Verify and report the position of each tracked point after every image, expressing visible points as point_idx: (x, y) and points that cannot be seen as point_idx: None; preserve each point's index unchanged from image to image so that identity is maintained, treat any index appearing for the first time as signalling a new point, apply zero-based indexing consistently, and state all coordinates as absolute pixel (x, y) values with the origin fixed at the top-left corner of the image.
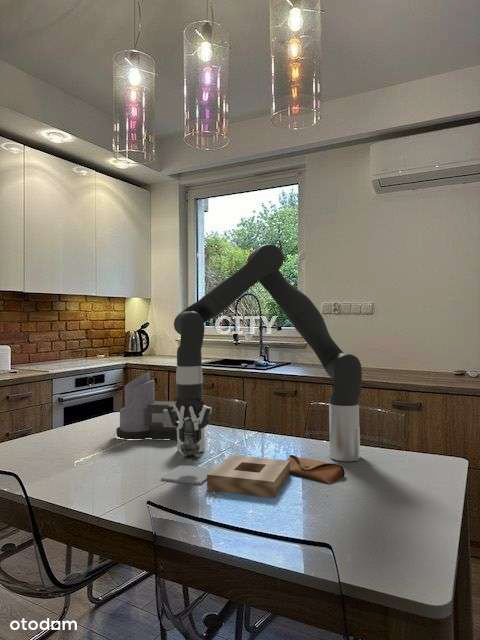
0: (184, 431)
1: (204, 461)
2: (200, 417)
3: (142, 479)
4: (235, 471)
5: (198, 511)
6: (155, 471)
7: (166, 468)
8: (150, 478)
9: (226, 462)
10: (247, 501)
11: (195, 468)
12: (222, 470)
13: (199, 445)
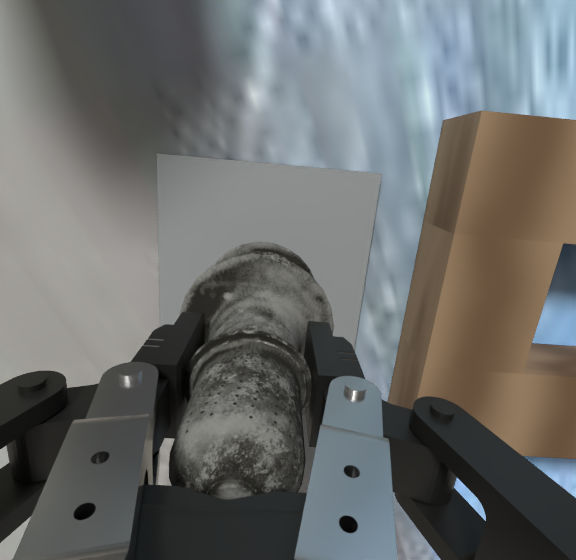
0: (184, 384)
1: (256, 7)
2: (387, 458)
3: (79, 359)
4: (533, 388)
5: (401, 547)
6: (71, 250)
7: (99, 193)
8: (106, 341)
9: (473, 267)
10: (544, 462)
11: (263, 196)
12: (468, 388)
13: (327, 321)
